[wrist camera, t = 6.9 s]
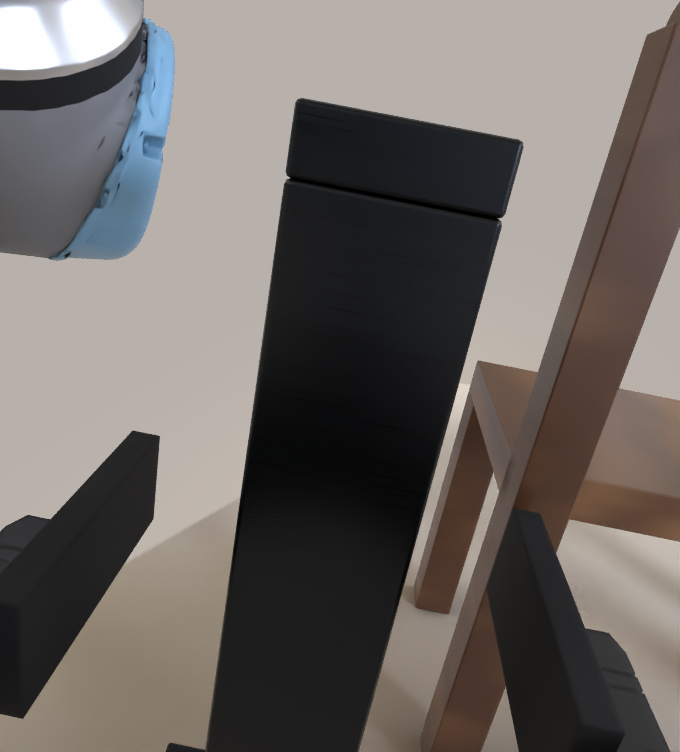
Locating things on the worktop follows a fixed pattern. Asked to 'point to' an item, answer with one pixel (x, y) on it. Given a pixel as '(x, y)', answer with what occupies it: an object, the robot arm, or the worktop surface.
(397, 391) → the black pedestal stand
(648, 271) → the chair
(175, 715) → the worktop surface
